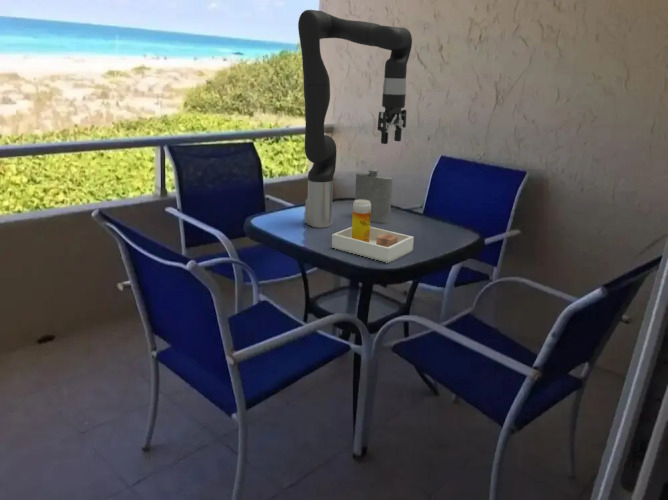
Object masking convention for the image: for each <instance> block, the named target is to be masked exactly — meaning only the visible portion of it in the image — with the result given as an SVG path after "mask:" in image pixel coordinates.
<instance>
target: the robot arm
mask: <svg viewBox="0 0 668 500" xmlns="http://www.w3.org/2000/svg"><path fill="white" fill-rule="evenodd" d="M297 23H298V24H297V27H298V28H297V30H298V37H299V45H300V50H301V59H302V72H303V73H302V75H303V77H302V80H303V81H302V82H303V95H304V96H303V98H304V118H305V129H304V130H305V131H304V132H305V133H304V153H305V157H306V158H307V160H308V161H310V162H311V163H313V164H312V165H311V166H312V167H311V168H310V170H309V171H308V174H307V198H306V199H305V206H304V208H305V209H304V210H305V211H304V214H305V218H304V223H307V224H306V225H307V226H309V225H310V226H309V227H311V226H312V228H318V229H320V228H328V227H329V228H330V227H331V226H332V224H333V221H332V220H333V191H334V190H333V184H334V175H335V173H336V166H337V165H336V163H337V145H336V141H335V140H334V138H333V137H332V136H329V135H325V120H326V116H327V113H328V109H329V106H330V102H331V101H330V100H331V81H330V80H331V79H330V76H329V74H328V70H327V68H326V66H325V65H326V64H325V63H324V61H323V58H322V53H321V46H320V45H321V44H320V43H321V41H320V40H323V39H342V40H346V41H349V42H352V43H353V44H359V45H361V46H362V45H363V46H368V47H376V48H379V49H383V50H387V51H391V52H390V57H389V58H388V59H386V61H385V64H384V65H385V66H384V74H383V75H384V78H383V85H382V97H381V98H382V99H381V101H382V102H381V106H382V108H384V111H379V112H378V120H377V131H380V132H381V134H380V135H381V137H380V142H381V144H383V145H387V144H389V131H390V128H392V127H393V126H394V128H395V130H394V137H393V138H394V141H395V142H401V141H402V131H403V130H404V129H405V128H406V127H407V109H403V108H405V106H406V95H407V94H406V93H407V68H408V67H407V65H408V61H409V58H410V55H411V50H412V46H413V36H412V34H411V31H410V30H409V29H408V28H406V27H398V26H391V25H389V26H388V25H382V24H379V23H374V22H371V21H370V22H368V21H363V20H362V21H361V20H350V19H344V18H340V17H337V16H334V15H332V14H330V13H328V12H324V11H322V10H316V9H306V10H304V11H302V13H301V14H300V15H299V18H298V22H297Z"/></svg>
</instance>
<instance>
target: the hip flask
mask: <svg viewBox="0 0 668 500" xmlns="http://www.w3.org/2000/svg"><path fill="white" fill-rule="evenodd" d="M378 173H379V170H378V169H376V168H372V169H371V168H369V169H368V172H356V173H355V191H354V193H355V195H354V201H355V200H359V199H363V200H369V201H370V203H371V220H370V222H372V223H378V224H383V225H385V224H386V225H387V224H388V225H389V224H390V223H391V222H390V220H391V205H392V204H391V203H392V191H393V190H392V189H393V188H392V187H393V178H392V177H390V176H388V177H387V176H380V175H378Z"/></svg>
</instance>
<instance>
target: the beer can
mask: <svg viewBox="0 0 668 500" xmlns="http://www.w3.org/2000/svg"><path fill="white" fill-rule="evenodd" d="M370 220H371V203H370V201H369V200H363V199H359V200H355V199H354V200H353V203H352V221H351V227H352V238H353V239H357V240H361V241H365V242H369V240H370V227H371V221H370Z"/></svg>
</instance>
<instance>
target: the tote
mask: <svg viewBox="0 0 668 500" xmlns="http://www.w3.org/2000/svg"><path fill="white" fill-rule="evenodd" d="M382 234H389V235H393V236H397V237H398V240H397V243H396V244H394V245H391V246H389V247H385V246H381V245H377V244H376V240H377V237H378V236H380V235H382ZM414 239H415V236H412V235H409V234H408V235H407V234H405V233H404V234H403V233H400V232H395V231H391V230H387V229H382V228H378V227H374V226H370V240H369V242H365V241H361V240H357V239H353V238H352V226H349V227H348V228H345V229H343V230H339V231H337V232H335V233H332V234H331V249H332V248H335V249H334V250H336V249H339V250H343V251H346V252H349V253H348V254H350V253H353V254H352V255H354V254H357V255H360V256H359V257H361V256H364V257H363V258H365V257H368V258H371V259H370V260H372V259H375V260H374V261H376V260H379V261H383V262H386V263H385V264H387V263H388V264H390V263H392V262H394V261H396V260H399V259H400V258H403V257H404V256H406V255H408V254H410V253H412V252H413V250H414V241H415V240H414ZM339 250H338V251H339ZM343 251H342V252H343ZM346 252H345V253H346ZM357 255H356V256H357ZM368 258H367V259H368ZM379 261H378V262H379ZM391 261H392V262H391ZM383 262H382V263H383ZM389 262H390V263H389Z"/></svg>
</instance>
